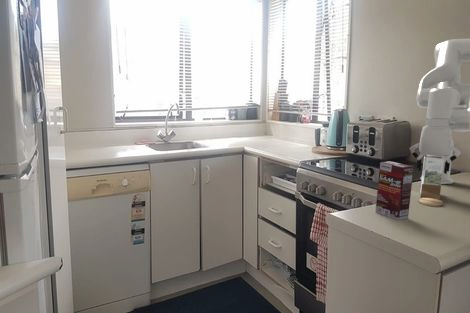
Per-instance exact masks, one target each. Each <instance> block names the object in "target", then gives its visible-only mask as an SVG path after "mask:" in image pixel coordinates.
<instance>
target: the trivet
mask: <svg viewBox="0 0 470 313" xmlns="http://www.w3.org/2000/svg"><path fill="white" fill-rule="evenodd" d="M418 202H419V204H421V205H423V204H424V206H429V207H442V206H443V201H442V200H440V199H439V200H437V199H432V198H421V197H420V198H419V200H418Z"/></svg>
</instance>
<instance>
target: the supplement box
mask: <svg viewBox="0 0 470 313" xmlns="http://www.w3.org/2000/svg"><path fill="white" fill-rule="evenodd" d="M414 168H415V166H414V165H410V164H406V163H405V164H404V163H399V162H394V161H389V160H388V161H381V162H379V170H378V180H377V192H376V202H375V203H376V204H375V213H376V214H379V215H382V216H385V217H388V218H391V219H393V220H396V221H402V220H406V219H408V218H409V212H410V204H411V195H412V194H411V193H412V185H413V176H414Z"/></svg>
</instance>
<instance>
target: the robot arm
mask: <svg viewBox="0 0 470 313" xmlns="http://www.w3.org/2000/svg"><path fill="white" fill-rule="evenodd" d="M434 62H435V63H434V64H435V68H433V69H431V70H430V71H429V72H427V73H426V74H425V75H424V76H423V77H422V78H421V79H420V82H419V85H418V88H417V91H416V92H417V93H416V96H415V98H416V100H415V101H416V105H417V106H418V107H419V108H421V109H427V110H426V121H425V125H424V126H422V129H421V131H420V132H421V133H420V138H419V142H418V143H416V144H414V145H412V146H411V147H409V148H408V149H409V151H410V153H411V154H412V155H413V157H414V158H415V159H416V160H417V161H416V169H418V170H417V171H418V172H421V170H422V169H421V168H422V159H423V158H424V157H423V156H435V157H442V158H443V160H444V163H443V171H442V179H441V185H452V184H453V183H454V179H452V178H450V177H451V168H452V162H453V161H454V160H456V159H457V158H458V157H459V156H460V155H461V154H462V152H461V150H459V149H458V148H457V147H455V145H454V143H455V141H454V139H453V137H452V134H453V132H466V133H467V132H470V83H461V78H462V73H461V63H462V62H470V38H456V39H454V38H451V39H447V40H445V41H442V42H439V43H438V44H436V46H435V47H434ZM435 85H437V86H436V87H432V86H435ZM416 149H418V152H419V154H418V153H417V152H416V151H415V150H416ZM453 152H454V154H453ZM420 180H421V181H422V175H421V176H420Z"/></svg>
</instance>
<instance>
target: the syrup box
mask: <svg viewBox="0 0 470 313" xmlns="http://www.w3.org/2000/svg"><path fill="white" fill-rule="evenodd" d="M443 163H444V160H443V158H442V157H435V156H427V155H424V157H423V163H422V164H423V165H422V172H421V173H422V174H421V176H422V180H421V183H420V191H419V193H420V194H421V188H422V184H430V185H439V186H441V187H442V184H441V179H442V171H443Z"/></svg>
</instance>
